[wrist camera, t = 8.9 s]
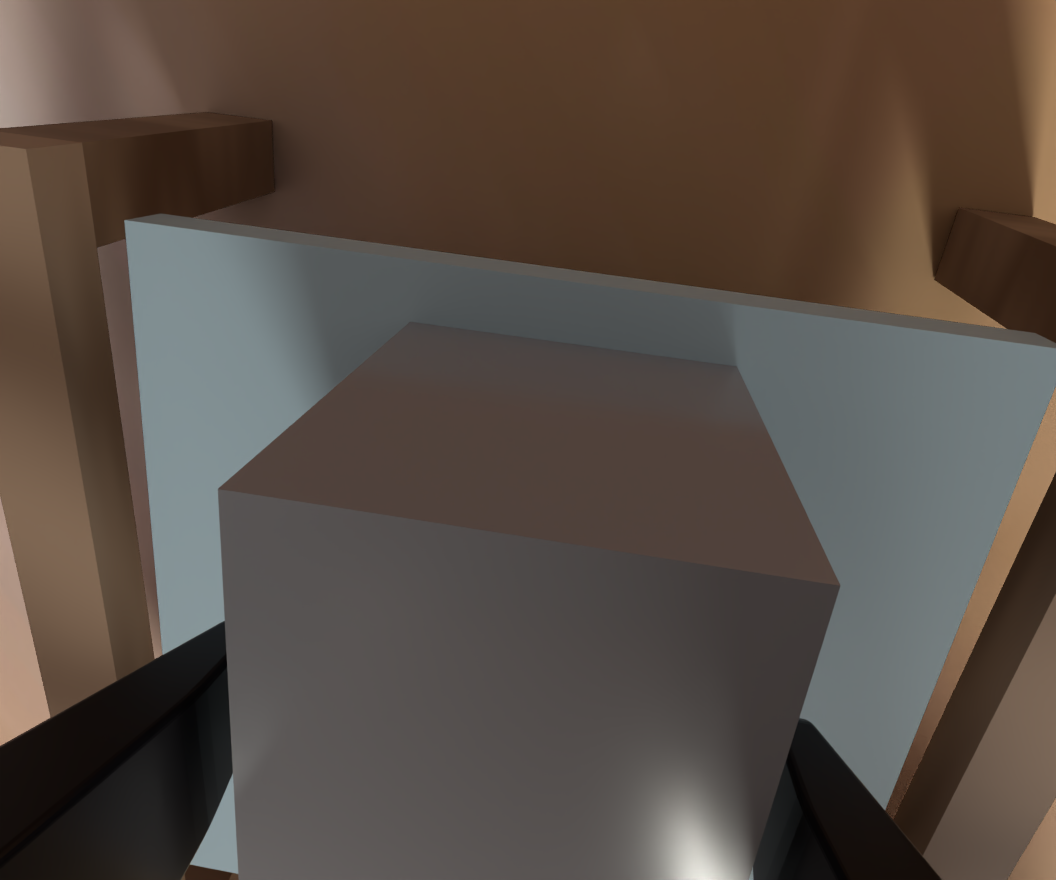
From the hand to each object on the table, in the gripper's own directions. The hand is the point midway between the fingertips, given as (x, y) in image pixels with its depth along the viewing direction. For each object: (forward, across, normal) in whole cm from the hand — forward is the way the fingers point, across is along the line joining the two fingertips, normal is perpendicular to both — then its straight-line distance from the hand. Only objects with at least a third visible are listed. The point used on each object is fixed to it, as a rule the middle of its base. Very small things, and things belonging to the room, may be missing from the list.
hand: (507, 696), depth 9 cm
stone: (+4, 0, 0) cm, 5 cm away
